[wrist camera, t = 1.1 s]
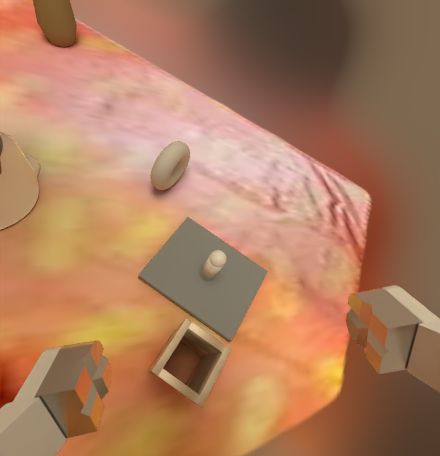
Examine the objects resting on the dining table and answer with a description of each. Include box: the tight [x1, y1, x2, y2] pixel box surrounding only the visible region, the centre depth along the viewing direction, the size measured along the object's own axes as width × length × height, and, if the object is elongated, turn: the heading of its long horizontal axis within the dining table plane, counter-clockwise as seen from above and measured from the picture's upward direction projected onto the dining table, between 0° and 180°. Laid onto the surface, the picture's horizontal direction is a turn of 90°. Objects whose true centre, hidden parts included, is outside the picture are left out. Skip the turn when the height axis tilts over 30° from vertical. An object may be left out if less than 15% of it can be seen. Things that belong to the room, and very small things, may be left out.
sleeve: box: [149, 318, 231, 407], centre depth 34 cm, size 6×6×12 cm
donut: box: [151, 141, 190, 190], centre depth 49 cm, size 10×4×10 cm, turn 149°
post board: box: [138, 217, 268, 342], centre depth 42 cm, size 18×14×10 cm
